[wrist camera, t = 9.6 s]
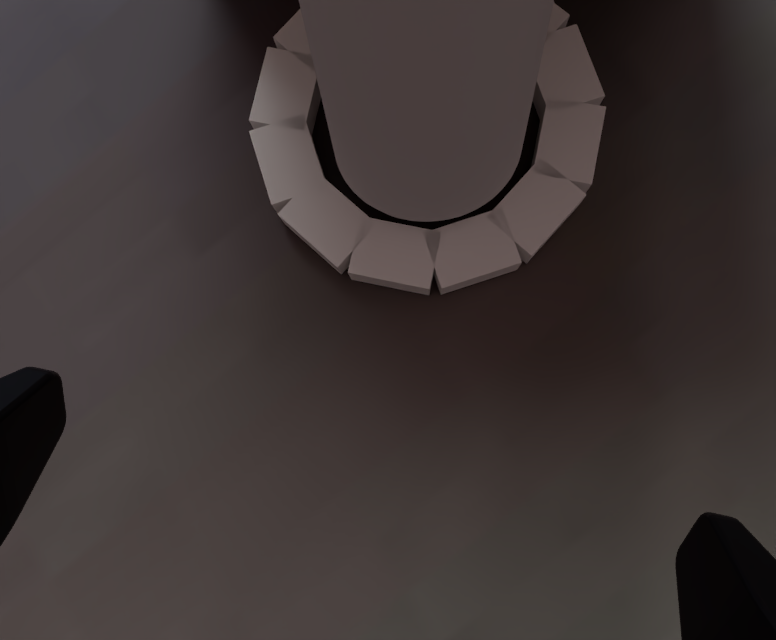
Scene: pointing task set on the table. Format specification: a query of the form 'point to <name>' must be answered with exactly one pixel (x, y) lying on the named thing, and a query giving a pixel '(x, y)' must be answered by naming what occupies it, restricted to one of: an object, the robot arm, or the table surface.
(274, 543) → the table surface
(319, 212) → the socket ring
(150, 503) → the table surface
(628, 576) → the table surface
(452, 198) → the beverage can
